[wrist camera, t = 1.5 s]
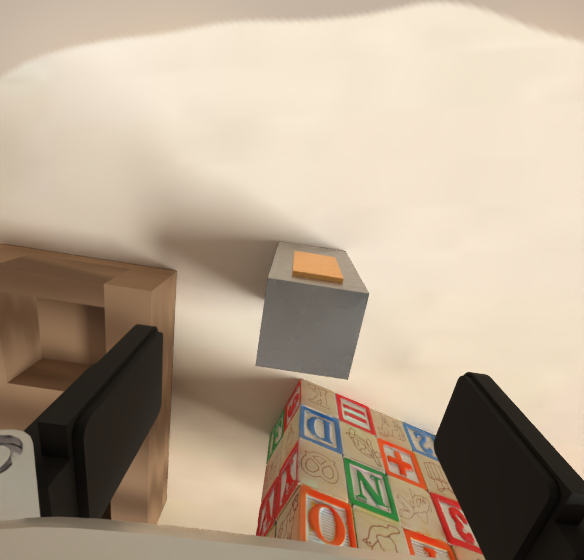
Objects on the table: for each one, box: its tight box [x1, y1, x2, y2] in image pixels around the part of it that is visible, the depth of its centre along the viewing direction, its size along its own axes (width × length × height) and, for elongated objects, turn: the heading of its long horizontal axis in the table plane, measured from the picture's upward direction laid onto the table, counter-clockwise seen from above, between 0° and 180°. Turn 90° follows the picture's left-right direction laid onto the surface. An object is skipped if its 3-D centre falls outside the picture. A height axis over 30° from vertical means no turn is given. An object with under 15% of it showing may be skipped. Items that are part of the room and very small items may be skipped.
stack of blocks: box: [256, 379, 485, 560], centre depth 21 cm, size 21×6×12 cm, turn 65°
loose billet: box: [256, 241, 369, 380], centre depth 19 cm, size 5×4×8 cm
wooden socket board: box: [0, 244, 177, 524], centre depth 24 cm, size 22×12×4 cm, turn 171°
